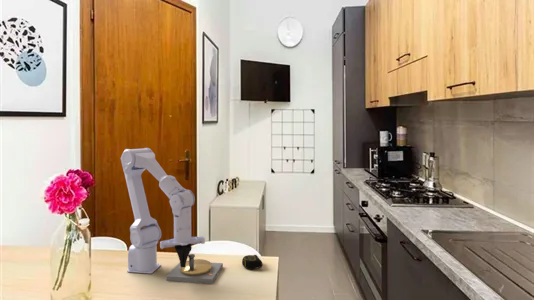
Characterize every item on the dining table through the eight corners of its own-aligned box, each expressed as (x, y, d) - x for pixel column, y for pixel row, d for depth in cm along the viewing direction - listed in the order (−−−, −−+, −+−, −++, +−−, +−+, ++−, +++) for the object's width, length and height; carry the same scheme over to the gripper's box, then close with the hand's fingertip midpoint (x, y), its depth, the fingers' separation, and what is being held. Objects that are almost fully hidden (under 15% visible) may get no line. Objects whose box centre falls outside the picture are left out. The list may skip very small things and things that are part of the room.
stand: (166, 280, 122) (166, 275, 122) (181, 264, 136) (181, 260, 136) (212, 283, 120) (212, 279, 120) (222, 267, 134) (222, 262, 133)
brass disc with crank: (186, 262, 134) (186, 244, 133) (215, 264, 132) (215, 246, 132) (174, 274, 123) (174, 255, 122) (206, 277, 121) (206, 257, 121)
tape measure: (262, 269, 132) (262, 260, 132) (244, 272, 130) (244, 261, 130) (257, 262, 138) (257, 253, 138) (240, 264, 136) (240, 255, 136)
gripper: (161, 232, 114) (161, 274, 115) (206, 227, 120) (206, 267, 121) (159, 226, 121) (159, 265, 122) (202, 222, 126) (202, 260, 127)
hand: (182, 266), depth 122 cm, fingers closed
